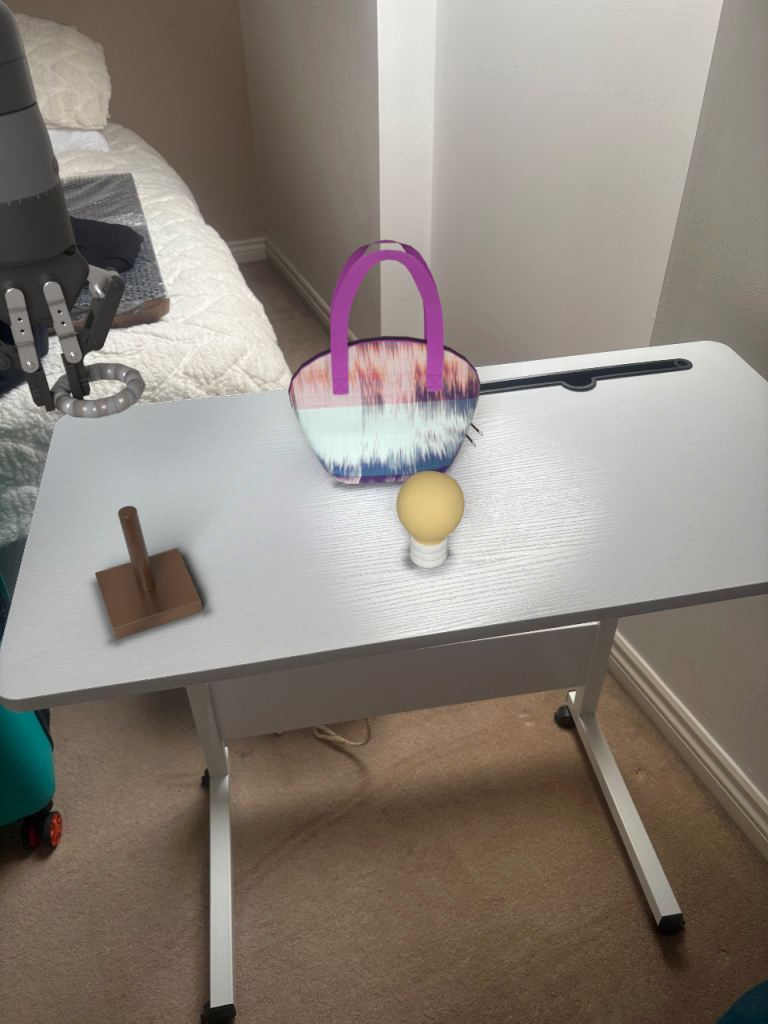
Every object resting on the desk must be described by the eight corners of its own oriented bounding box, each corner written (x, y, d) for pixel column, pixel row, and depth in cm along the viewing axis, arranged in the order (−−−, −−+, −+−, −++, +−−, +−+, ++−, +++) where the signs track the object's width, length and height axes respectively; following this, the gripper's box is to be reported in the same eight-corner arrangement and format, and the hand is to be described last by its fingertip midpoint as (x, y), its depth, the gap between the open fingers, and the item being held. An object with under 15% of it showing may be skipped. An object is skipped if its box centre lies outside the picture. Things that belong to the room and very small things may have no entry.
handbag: (474, 430, 99) (490, 223, 83) (487, 480, 92) (508, 263, 76) (295, 437, 98) (277, 229, 82) (293, 488, 91) (273, 270, 75)
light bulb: (387, 574, 80) (387, 493, 74) (405, 532, 85) (407, 453, 79) (452, 587, 79) (457, 506, 72) (466, 544, 84) (473, 464, 77)
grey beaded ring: (61, 430, 63) (57, 414, 62) (46, 386, 68) (42, 371, 67) (155, 408, 66) (152, 392, 65) (134, 367, 71) (131, 352, 70)
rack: (116, 640, 74) (88, 553, 67) (98, 583, 79) (71, 498, 73) (203, 611, 77) (185, 525, 70) (179, 558, 82) (161, 473, 75)
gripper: (93, 150, 60) (138, 363, 71) (-116, 177, 55) (-33, 401, 66) (116, 180, 55) (161, 405, 66) (-113, 213, 50) (-23, 449, 61)
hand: (63, 402), depth 66 cm, fingers closed on grey beaded ring, 1 cm apart
